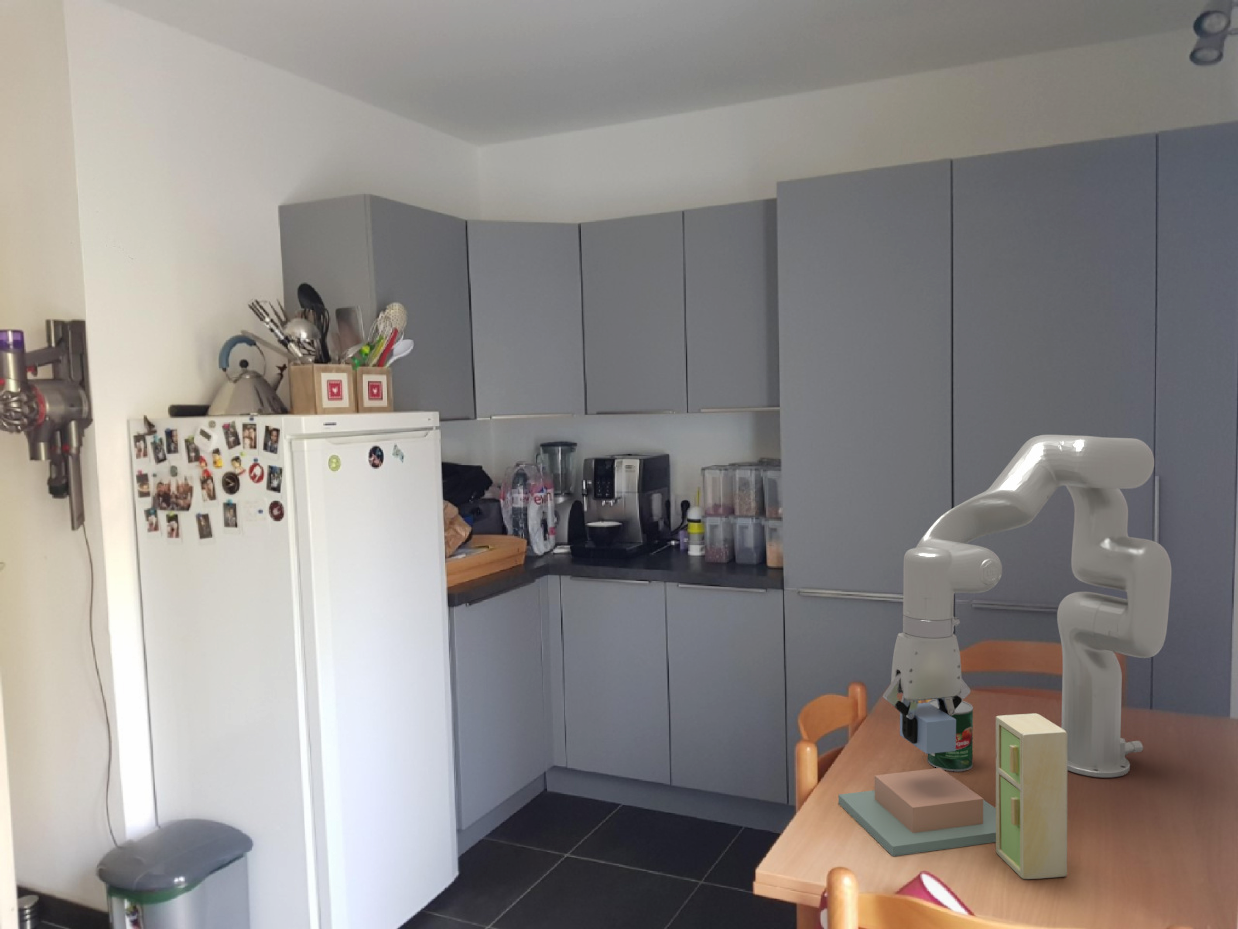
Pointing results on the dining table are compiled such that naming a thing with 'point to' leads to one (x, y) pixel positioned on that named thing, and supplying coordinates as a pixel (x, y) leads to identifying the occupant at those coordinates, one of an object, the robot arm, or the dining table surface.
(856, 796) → the block on teal plate
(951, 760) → the canned tomato
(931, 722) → the slate brick
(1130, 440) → the robot arm
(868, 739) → the dining table surface
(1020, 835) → the toy refrigerator
